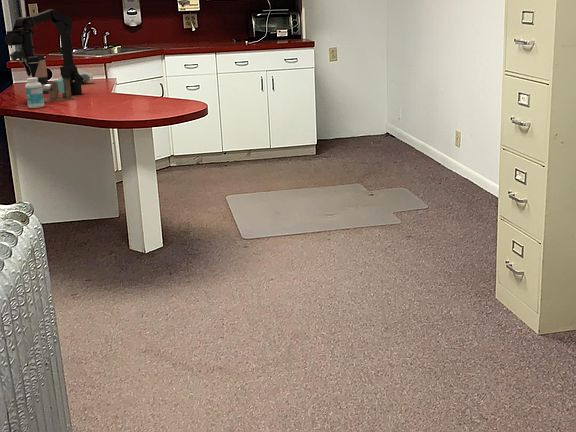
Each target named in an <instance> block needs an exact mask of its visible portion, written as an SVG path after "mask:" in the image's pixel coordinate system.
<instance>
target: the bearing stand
mask: <svg viewBox="0 0 576 432" xmlns="http://www.w3.org/2000/svg"><path fill="white" fill-rule="evenodd" d="M62 81H63V83H64V87H65V89H64V91H65V93H61V95H62V96H59V94H58V90H57V82H54V80H50V81H49V80H48V81H47V82H48V84H51V89H52V90H49V93H48V95H49V97H48V98H46V97H45V98H44V103H49V102H58V101H59V102H61V101H67V100H68V101H69V100H75V99H76V97H74V96H73V95H71V88H70V81H69V80H68V81H66V80H62Z"/></svg>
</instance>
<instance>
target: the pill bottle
mask: <svg viewBox="0 0 576 432" xmlns="http://www.w3.org/2000/svg"><path fill="white" fill-rule="evenodd" d="M26 80H27V83H25V85H24V90H25V94H26V95H25V96H26V101H27V107H28V108H30V109H38V108H43V107H45V102H44V99H45V98H44V94H43V90H42V84H41V83H39V82H38V78H33V77H29V78H26Z"/></svg>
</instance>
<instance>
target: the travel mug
mask: <svg viewBox="0 0 576 432" xmlns="http://www.w3.org/2000/svg"><path fill="white" fill-rule="evenodd" d="M34 55H35V56H37V57H39V60H40V62H39V64H38V68H37V71H36V74H35V77H32V78H38V82H39V83H41V84H42V85H45V84H48V82H47V81H49V77H48V70H47V63H46V57H45V55H44V54H34ZM44 94H49V90H47V91H43V95H44Z"/></svg>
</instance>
